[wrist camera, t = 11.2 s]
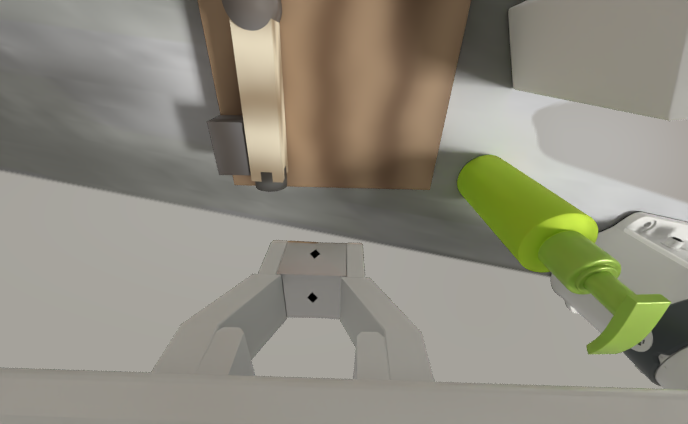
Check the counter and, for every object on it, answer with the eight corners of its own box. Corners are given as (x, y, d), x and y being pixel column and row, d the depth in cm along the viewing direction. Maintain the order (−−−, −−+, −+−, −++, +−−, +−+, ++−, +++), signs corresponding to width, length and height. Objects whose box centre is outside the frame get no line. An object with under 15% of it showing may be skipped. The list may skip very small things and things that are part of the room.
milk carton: (512, 89, 27) (772, 143, 11) (506, 8, 24) (877, -95, 7) (588, 59, 26) (1020, 68, 9) (594, -31, 22) (1293, -267, 6)
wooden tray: (468, -41, 22) (503, -68, 17) (423, 180, 32) (437, 202, 27) (200, -53, 21) (159, -83, 17) (241, 176, 32) (224, 197, 27)
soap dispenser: (451, 207, 34) (562, 362, 17) (462, 155, 30) (617, 285, 13) (497, 206, 34) (655, 360, 17) (513, 154, 30) (735, 282, 13)
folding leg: (233, -25, 20) (216, -38, 17) (280, -21, 20) (270, -34, 17) (258, 177, 29) (249, 191, 26) (291, 179, 29) (286, 192, 26)
